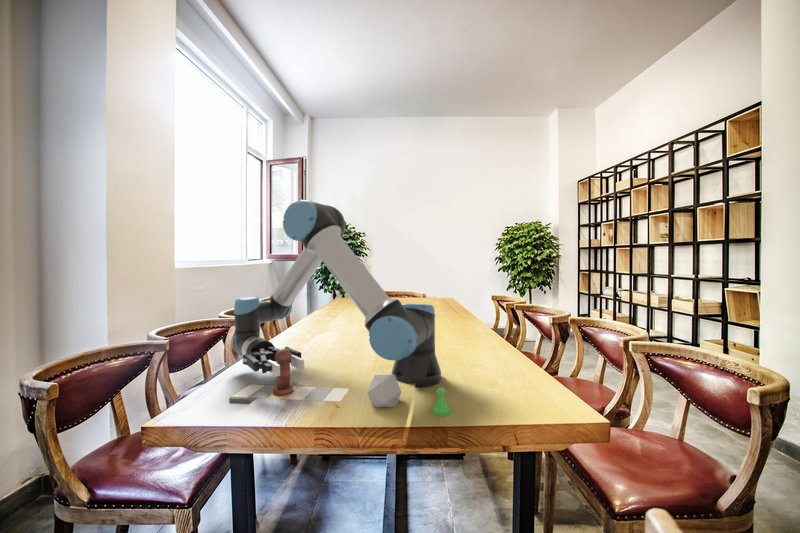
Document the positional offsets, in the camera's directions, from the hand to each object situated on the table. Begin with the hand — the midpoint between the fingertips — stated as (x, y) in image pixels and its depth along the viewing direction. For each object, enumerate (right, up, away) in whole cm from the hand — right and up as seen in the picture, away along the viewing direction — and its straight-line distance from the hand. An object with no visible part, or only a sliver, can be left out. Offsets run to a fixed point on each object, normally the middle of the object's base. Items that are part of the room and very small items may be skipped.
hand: (291, 367), depth 88 cm
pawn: (-3, -8, +4) cm, 9 cm away
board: (-1, -9, +4) cm, 10 cm away
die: (+24, -9, -3) cm, 26 cm away
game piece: (+38, -9, -6) cm, 40 cm away
